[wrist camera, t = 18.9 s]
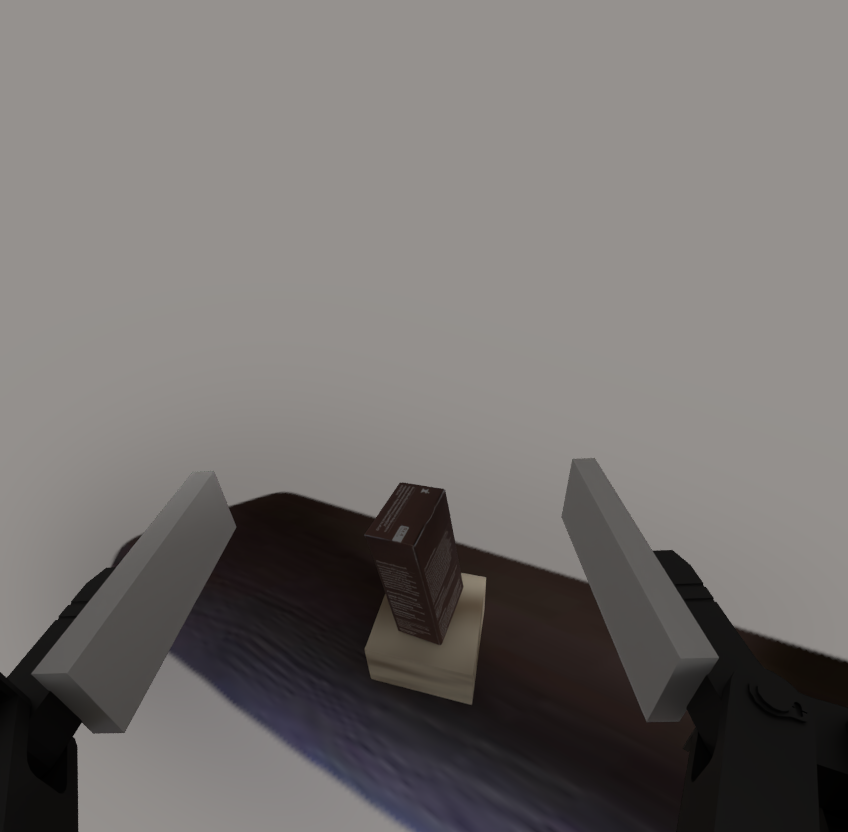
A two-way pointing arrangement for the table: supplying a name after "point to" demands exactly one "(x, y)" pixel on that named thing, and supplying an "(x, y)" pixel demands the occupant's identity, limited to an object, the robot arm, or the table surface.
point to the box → (417, 560)
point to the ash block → (431, 649)
